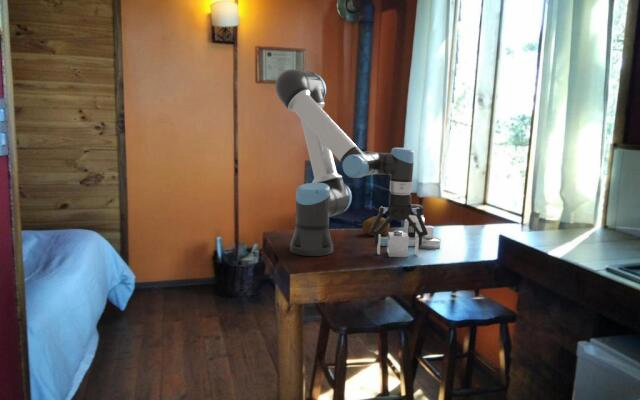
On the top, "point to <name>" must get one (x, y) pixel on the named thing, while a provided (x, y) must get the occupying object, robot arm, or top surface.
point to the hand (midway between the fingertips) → (397, 253)
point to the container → (413, 217)
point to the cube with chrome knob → (397, 244)
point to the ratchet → (427, 240)
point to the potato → (369, 222)
